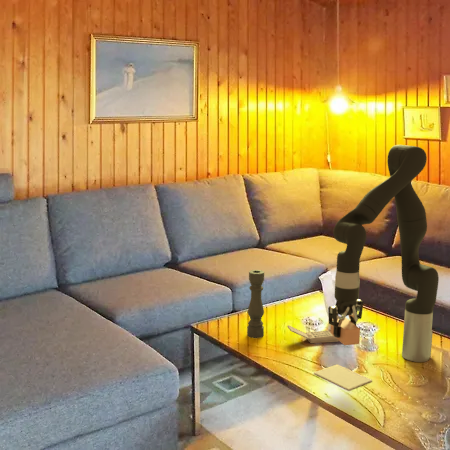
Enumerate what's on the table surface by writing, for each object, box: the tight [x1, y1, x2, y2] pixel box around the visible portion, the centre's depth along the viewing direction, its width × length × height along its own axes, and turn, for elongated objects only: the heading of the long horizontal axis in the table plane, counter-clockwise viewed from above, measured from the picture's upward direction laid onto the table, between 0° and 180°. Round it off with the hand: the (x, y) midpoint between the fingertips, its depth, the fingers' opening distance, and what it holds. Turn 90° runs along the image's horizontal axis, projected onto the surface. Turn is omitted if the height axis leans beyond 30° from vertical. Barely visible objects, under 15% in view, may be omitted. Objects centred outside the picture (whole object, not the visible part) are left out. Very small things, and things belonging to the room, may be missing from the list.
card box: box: [329, 316, 361, 346], centre depth 200 cm, size 11×5×5 cm, turn 14°
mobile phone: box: [286, 325, 340, 344], centre depth 234 cm, size 6×6×25 cm
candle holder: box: [246, 269, 265, 339], centre depth 236 cm, size 6×6×25 cm
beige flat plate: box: [313, 364, 373, 391], centre depth 203 cm, size 11×15×1 cm
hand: (344, 334), depth 200 cm, fingers closed on card box, 6 cm apart
